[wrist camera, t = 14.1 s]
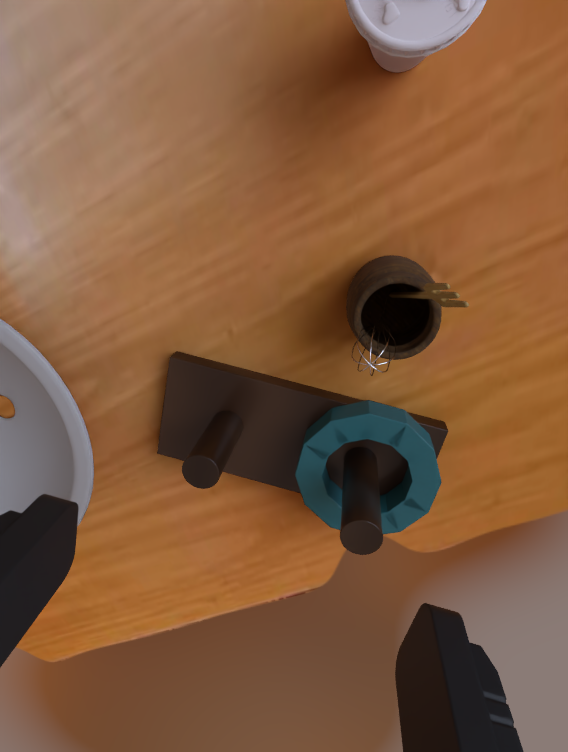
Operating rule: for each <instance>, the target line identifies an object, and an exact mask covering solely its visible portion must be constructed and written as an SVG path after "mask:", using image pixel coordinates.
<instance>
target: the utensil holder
mask: <svg viewBox="0 0 568 752" xmlns="http://www.w3.org/2000/svg"><path fill="white" fill-rule="evenodd" d="M445 289H450V285H449V284H447V283H435V282H434V280H433V279H432V278H431V276H430V275H429V274H428V273H427V272H426V271H425V270H424V269H423V268H422V267H421V266H420V265H419V264H417V263H416V262H414V261H412V260H410V259H408V258H405V257H401V256H384V257H380V258H377V259H374V260H372V261H370V262H369V263H367V264H366V265H364V266H363V267H362V268H361V269H360V270H359V271H358V272H357V274H356V275H355V276H354V278H353V280H352V282H351V284H350V287H349V290H348V295H347V306H346V309H347V318H348V322H349V325H350V327H351V329H352V331H353V333H354V334H355V336H356V337H357V341H356V343H357V347H358V340H359V342H360V343H361V344H362V345H363V346H364V347H365V349H367V350H368V351H369V352H370V363H369V362H368V361H367V360H366V359H365V358H364V357H363V353H364V351H365V349H364V351H363V353H362V354H361V352H360V350H359V347H358V350H359V352H360V354H361V357H363V358H364V359H365V360H366V362H367V363H368V364H364V365H369V366H370V374H371V366H372V365H374V367H373V366H372V367H373V368H374V369H376V368H375V365H381V364H376V360H377V359H378V357H381V358H385V359H389V361H388V362H389V363H390V361H391V360H397V359H405V358H409V357H412V356H414V355H416V354H418V353H420V352H421V351H423V350H424V349H425V348H426V347H427V346H428V345H429V344H430V343H431V342H432V341H433V339H434V338H435V336H436V334H437V332H438V330H439V327H440V323H441V306H443V307H468V306H469V304H468V303H467V302H466V301H457V300H449V299H452V298H459V297H460V296H459V294H458V293H456V292H442V291H439V290H445ZM356 343H355V344H356ZM355 344H354V346H355ZM354 346H353V349H354ZM353 349H352V353H353ZM371 353H372V354H374V355H376V359H375V360H374V361H373V362H372V363H374V362H375V364H372V363H371ZM377 356H378V357H377ZM351 357H352V354H351ZM352 359H353V357H352ZM390 359H391V360H390ZM353 360H354V359H353ZM360 360H361V358H360ZM354 361H355V360H354ZM355 362H357V361H355ZM388 362H385V363H388ZM357 363H359V364H363V363H360V361H359V362H357ZM385 363H382V364H385ZM359 364H358V368H359ZM369 366H368V367H369ZM368 367H366V368H368ZM388 367H389V364H388ZM366 368H365V369H366ZM365 369H363V370H365ZM374 369H373V372H374ZM363 370H361V371H363ZM376 370H377V369H376ZM387 370H388V368H387ZM387 370H386V371H387ZM358 371H359V370H358ZM377 371H379V370H377ZM386 371H384V372H386ZM379 372H382V371H379ZM371 376H373V373H372V375H371Z"/></svg>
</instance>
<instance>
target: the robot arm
mask: <svg viewBox="0 0 568 752" xmlns="http://www.w3.org/2000/svg"><path fill="white" fill-rule="evenodd" d="M78 511H79V507H78V504H77V503H76V502H72V501H69V500H65V499H62V498H58V497H55V496H51V495H48V494H42V495H40V496H39V497H38V498H37V499H36V500H35V501H34V502H33V503H32V504H31V505H30V506H28V507H27V508H26V509H25V510H24V511H23V512H22V513H19V512H16V511H12V510H10V511H8V512H6V513H4V514H2V515H0V667H1V666H2V664H3V663H4V662H5V660H6V659H7V657H8V656H9V655H10V653H11V652H12V651H13V649H14V648H15V647H16V645H17V644H18V643H19V641H20V640H21V638H22V637H23V636H24V634H25V633H26V632H27V630H28V629H29V627H30V626H31V625H32V623H33V622H34V621H35V619H36V618H37V616H38V615H39V614H40V612H41V611H42V610H43V608H44V607H45V606H46V604H47V603H48V601H49V600H50V599H51V597H52V596H53V595H54V593H55V592H56V590H57V589H58V588H59V586H60V585H61V584H62V582H63V581H64V579H65V577H66V576H67V574H68V572H69V570H70V567H71V565H72V562H73V559H74V555H75V546H76V534H77V523H78ZM395 675H396V676H395V677H396V688H397V697H398V707H399V716H400V725H401V734H402V744H403V752H523V749H522V746H521V743H520V740H519V736H518V734H517V730H516V728H514V726H513V723H514V721H513V718H512V715H511V712H510V709H509V706H508V705H507V704H506V696H505V693H504V690H503V687H502V684H501V681H500V678H499V675H498V672H497V670H496V669H495V667H494V666H493V664H492V662H491V661H490V659H489V658H488V656H487V655H486V653H485V652H484V650H483V649H482V647H481V646H479V645H476V644H473V643H469V640H468V637H467V633H466V630H465V626H464V622H463V620H462V617H461V615H460V614H459V613H458V612H455V611H451V610H448V609H444V608H441V607H437V606H434V605H430V604H427V603H424V604H422V605H421V607H420V608H419V610H418V612H417V614H416V616H415V618H414V620H413V622H412V624H411V626H410V628H409V630H408V632H407V634H406V636H405V638H404V640H403V642H402V644H401V646H400V649H399V652H398V655H397V660H396V672H395Z"/></svg>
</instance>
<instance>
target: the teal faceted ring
mask: <svg viewBox="0 0 568 752" xmlns="http://www.w3.org/2000/svg"><path fill="white" fill-rule="evenodd" d="M365 439H369V440H373V441H377V442H380V443H384V444H387V445H391V446H392V447H393V448H394V449H395V450H396V451H398V452H399V453H400V454H401V455H402V456H403V457H404V458H405V459H406V460H407V461H408V468H407V471H406V473H405V476H404V478H403V481H402V482H401V483H400V484H399V485H397V486H396V487H395V488H393V489H392V490H391V491H389V492H388V493H387V494H384V495H380V505H381V518H382V532H383V534H388V533H395V532H401V531H402V530H404V529H405V528H406V527H408V526H409V525H411V524H412V523H414V522H415V521H417V520H418V519H420V518H421V517H422V516H424V515H425V514H427V513H428V512H429V510H430V508H431V505H432V503H433V501H434V498H435V496H436V494H437V491H438V489H439V487H440V485H441V478H440V473H439V469H438V464H437V460H436V455H435V451H434V447H433V444H432V441H431V437H430V434H429V433H428V432H427V431H426V430H425V429H423V428H422V427H421V426H420V425H419V424H418V423H417V422H416V421H415V420H414V419H413V418H412V417H411V416H410V415H409V414H408V413H407V412H406V411H405V410H403V409H399V408H396V407H392V406H388V405H385V404H381V403H377V402H374V401H370V400H366V401H362V402H357V403H352V404H348V405H343V406H338V407H333V408H331V409H330V410H329V411H328V412H327V413H325V414H324V415H323V416H322V417H321V418H320V419H319V420H317V421H316V422H315V423H314V424H313V425H312V426H311V427H309V428H308V429H307V431H306V434H305V438H304V441H303V445H302V448H301V452H300V455H299V459H298V463H297V468H296V472H295V476H296V479H297V482H298V485H299V488H300V491H301V494H302V497H303V500H304V503H305V505H306V506H307V507H308V508H309V509H311V510H312V511H313V512H314V513H315V514H316V515H317V516H318V517H320V518H321V519H322V520H323V521H324V522H325V523H326V524H327V525H329V526H330V527H332V528H335V529H339V530H340V528H341V508H342V489H341V488H340V487H339V486H337V485H336V484H335V483H334V482H333V481H332V480H331V479H330V478H329V475H328V471H327V468H326V462H327V459H328V457H329V456H330V455H331V454H332V453H333V452H335V451H336V450H337V449H338V448H339V447H341V446H342V445H343V444H344V443H349V442H354V441H359V440H365Z"/></svg>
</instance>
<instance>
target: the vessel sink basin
mask: <svg viewBox="0 0 568 752" xmlns="http://www.w3.org/2000/svg"><path fill="white" fill-rule="evenodd" d="M0 395H3V396H5V397H7V398H8V399H10V400H11V402H12V403H13V405H14V407H15V415H14V417H12V418H9V419H6V418H2V417H0V515H2V514H4V513H6V512H8V511H10V510H12V511H16V512H19V513H22V512H23V511H24V510H25V509H26V508H27V507H28V506H30V505H31V504H32V503H33V502H34V501H35V500H36V499H37V498H38V497H39V496H40V495H42V494H48V495H51V496H55V497H58V498H62V499H65V500H69V501H72V502H76V503H77V504H78V507H79V511H78V523H77V527H78V525H79V524H80V522H81V520H82V518H83V516H84V514H85V512H86V510H87V507H88V505H89V502H90V499H91V494H92V489H93V480H94V461H93V454H92V447H91V443H90V439H89V435H88V432H87V429H86V426H85V423H84V420H83V417H82V415H81V413H80V411H79V408H78V406H77V404H76V402H75V400H74V399H73V397H72V395H71V393H70V391H69V390H68V388H67V387H66V385H65V384H64V382H63V381H62V379H61V377H60V376H59V375H58V373H57V372H56V371H55V370H54V368H53V367H52V366H51V364H50V363H49V362H48V361H47V360H46V359H45V358H44V356H43V355H42V354H41V353H40V352H39V351H38V350H37V349H36V348H35V347H34V346H33V345H32V344H31V343H30V342H29V341H28V340H27V339H26V338H25V337H23V336H22V335H21V334H20V333H19V332H17V331H16V330H15V329H14V328H12V327H11V326H10V325H8V324H7V323H6V322H4V321H3V320H1V319H0Z"/></svg>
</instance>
